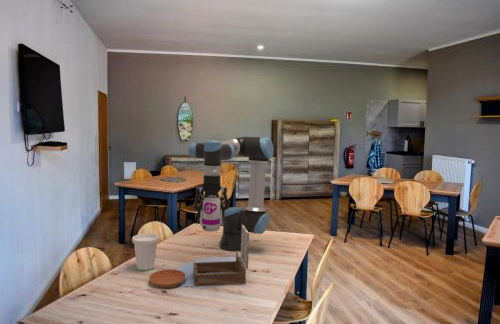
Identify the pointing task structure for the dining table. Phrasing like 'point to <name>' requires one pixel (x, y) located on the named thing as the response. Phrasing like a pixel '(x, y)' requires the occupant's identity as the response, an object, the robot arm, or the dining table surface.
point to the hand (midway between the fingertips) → (210, 224)
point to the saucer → (167, 278)
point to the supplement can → (211, 214)
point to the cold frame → (224, 267)
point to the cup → (145, 250)
